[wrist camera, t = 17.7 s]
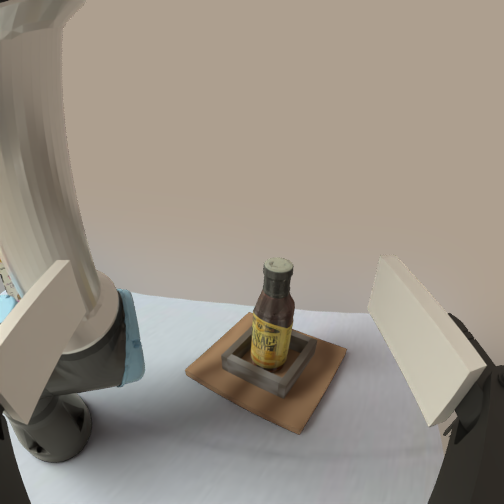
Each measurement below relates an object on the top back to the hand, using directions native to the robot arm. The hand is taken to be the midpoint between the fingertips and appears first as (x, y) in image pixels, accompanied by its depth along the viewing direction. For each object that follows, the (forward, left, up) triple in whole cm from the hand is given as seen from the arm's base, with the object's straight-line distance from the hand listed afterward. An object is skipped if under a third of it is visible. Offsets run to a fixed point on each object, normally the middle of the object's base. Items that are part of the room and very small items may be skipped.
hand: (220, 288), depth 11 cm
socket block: (-10, +24, -34) cm, 43 cm away
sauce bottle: (-10, +24, -33) cm, 42 cm away
